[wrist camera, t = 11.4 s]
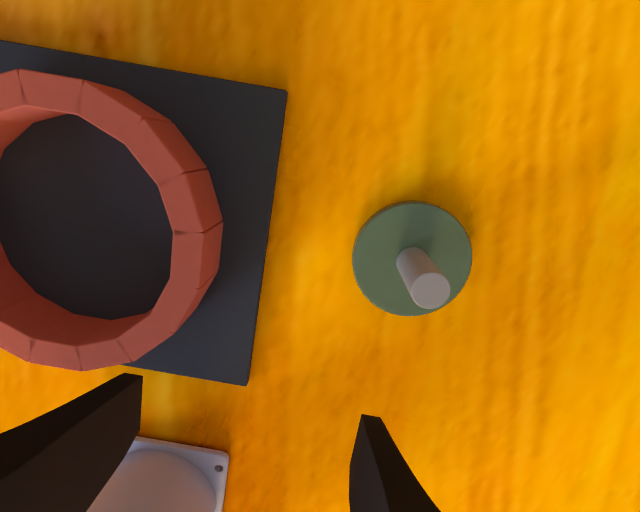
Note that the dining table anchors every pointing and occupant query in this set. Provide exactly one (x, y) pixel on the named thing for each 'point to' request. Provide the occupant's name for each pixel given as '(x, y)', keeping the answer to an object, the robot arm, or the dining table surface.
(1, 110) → the ring
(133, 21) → the dining table surface
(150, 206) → the mat
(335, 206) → the dining table surface
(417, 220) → the post stand
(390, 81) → the dining table surface
